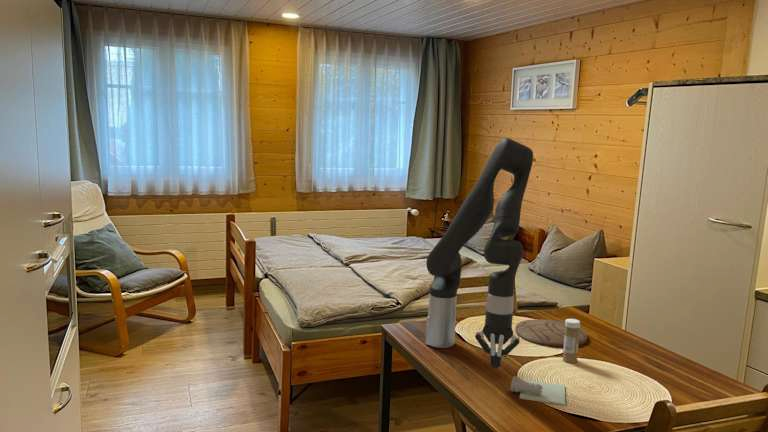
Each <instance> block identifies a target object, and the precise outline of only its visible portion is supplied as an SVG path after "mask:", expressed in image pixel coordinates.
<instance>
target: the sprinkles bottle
mask: <svg viewBox="0 0 768 432" xmlns="http://www.w3.org/2000/svg"><path fill="white" fill-rule="evenodd" d="M564 323H565V336H564V348H562V349H563V352H562V353H563V354H562V355H563V356H562V361H563V362H565V363H568V362H569V363H568V364H574V363H577V362H578V351H579V346H578V338H579V329H580V328H581V321H580V320H579V319H576V318H566V319H565V322H564Z"/></svg>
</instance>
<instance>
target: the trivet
mask: <svg viewBox="0 0 768 432" xmlns="http://www.w3.org/2000/svg"><path fill="white" fill-rule="evenodd" d="M514 331H516V332H515V334H516V333H517V334H516V335H517V336H518V338H520V337H521V338H520V339H522V340H524V341H526V342H528V343H530V344H531V343H532V344H535V345H539V346H544V347H549V348H550V347H551V348H556V349H557V348H559V349H561V348H562V349H563V348H564V336H565V322H563V321H559V320H554V319H553V320H551V319H541V318H540V319H534V318H533V319H526V320H523V321H520V322H518V323H516V325H515V330H514ZM587 340H588V334H587V332H586V330H584V329H582V328H581V327H580V329H579V338H578V347H580V346H584V344H586V343H587Z"/></svg>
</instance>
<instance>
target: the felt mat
mask: <svg viewBox="0 0 768 432" xmlns="http://www.w3.org/2000/svg"><path fill="white" fill-rule="evenodd" d="M521 379H522V380H523V381H525V382H528V383H534V384H535V385H536V384H540V385H541V386H542V387H541V388H542V390H541V391H542V393H541V395H536V394H535V393H531V392H526V391H521V392H520V391H519V400H520V399H522V400H527V401H536V402H541V403H548V404H554V405H560V406H566V390H565V388H566V387H565V385H564V384H557V383H551V382H546V381H538V380H531V379H524V378H521Z"/></svg>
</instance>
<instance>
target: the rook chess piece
mask: <svg viewBox="0 0 768 432" xmlns="http://www.w3.org/2000/svg"><path fill="white" fill-rule="evenodd" d="M522 379H523V378H521V377H519V376H516V375H514V376H513V377H512V380H511V384H510V391H511V392H513V393H514V392H515V393H520V392H521V391H526V392H531V393H535V394H536V395H541V393H542V391H541V390H542V388H541V387H542V386H541V385H540V384H536V385H535V384H534V383H528V382H525V381H523V380H522Z"/></svg>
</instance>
